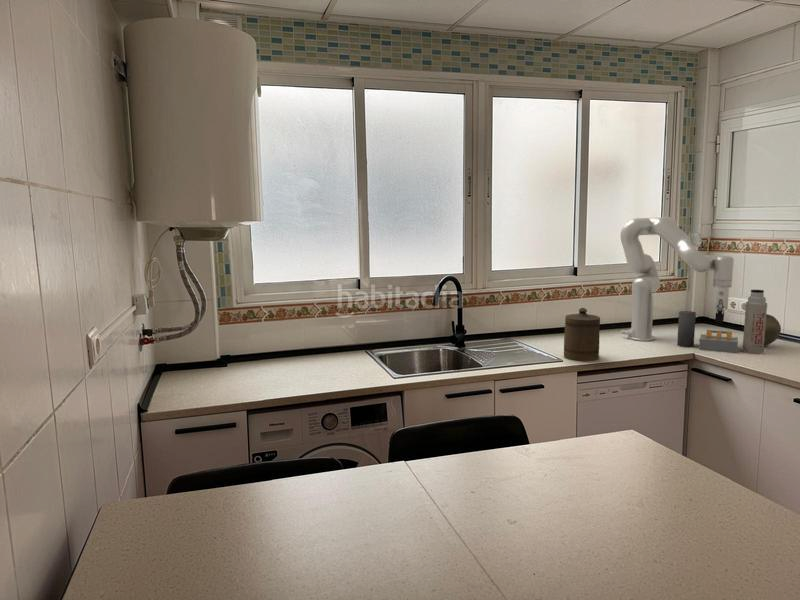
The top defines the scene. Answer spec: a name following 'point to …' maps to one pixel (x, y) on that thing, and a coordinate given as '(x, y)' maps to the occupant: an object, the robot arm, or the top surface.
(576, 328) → the wooden container
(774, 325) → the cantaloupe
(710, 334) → the breaker paddles
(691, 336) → the dark gray cylinder
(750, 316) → the thermos bottle
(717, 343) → the breaker box
